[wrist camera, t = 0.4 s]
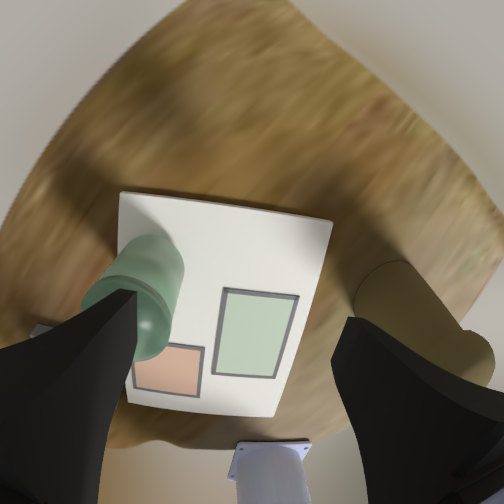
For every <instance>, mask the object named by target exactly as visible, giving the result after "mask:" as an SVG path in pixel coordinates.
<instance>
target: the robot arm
mask: <svg viewBox="0 0 504 504" xmlns="http://www.w3.org/2000/svg"><path fill="white" fill-rule="evenodd" d="M137 342H138V335H137V291H133V290H128V289H122V288H119V289H117V290H116V291H114V292H112V293H111V294H109V295H108V296H106V297H105V298H103V299H102V300H100V301H99V302H97V303H95V304H94V305H92V306H91V307H89V308H88V309H86V310H84V311H83V312H81V313H80V314H78V315H76V316H74V317H72V318H71V319H69V320H67V321H65V322H64V323H62V324H60V325H58V326H57V327H55V328H53V329H51V330H49V331H47V332H44V333H42V334H40V335H38V336H35V337H33V338H31V339H28V340H25V341H23V342H20V343H17V344H14V345H11V346H8V347H5V348H2V349H0V504H97V503H98V492H99V483H100V475H101V467H102V461H103V456H104V450H105V445H106V440H107V435H108V431H109V426H110V423H111V420H112V416H113V414H114V411H115V408H116V405H117V403H118V400H119V397H120V395H121V392H122V389H123V387H124V384H125V382H126V379H127V376H128V374H129V371H130V368H131V366H132V362H133V358H134V354H135V350H136V346H137ZM330 361H331V366H332V371H333V375H334V379H335V383H336V386H337V389H338V392H339V394H340V397H341V399H342V402H343V404H344V407H345V409H346V412H347V414H348V417H349V419H350V422H351V425H352V427H353V430H354V432H355V435H356V438H357V442H358V445H359V450H360V454H361V458H362V463H363V468H364V474H365V479H366V486H367V495H368V504H504V393H503V392H499V391H496V390H492V389H488V388H486V387H483V386H480V385H477V384H475V383H472V382H470V381H467V380H465V379H462V378H460V377H458V376H456V375H454V374H452V373H450V372H448V371H446V370H444V369H442V368H440V367H438V366H437V365H435V364H433V363H432V362H430V361H428V360H427V359H425V358H424V357H422V356H420V355H419V354H417V353H416V352H414V351H413V350H411V349H410V348H408V347H407V346H405V345H404V344H402V343H401V342H400V341H398V340H397V339H395V338H394V337H392V336H391V335H390V334H388V333H387V332H385V331H384V330H382V329H381V328H379V327H378V326H376V325H375V324H373V323H372V322H370V321H368V320H366V319H364V318H360V317H348V318H347V321H346V324H345V326H344V329H343V331H342V334H341V336H340V339H339V341H338V344H337V346H336V349H335V351H334V353H333V356H332V358H331V360H330ZM311 446H312V443H311V442H310V441H299V442H239V443H238V444H237V446H236V450H235V453H234V457H233V460H232V464H231V467H230V471H229V474H228V480H230V481H236V489H237V503H238V504H312V503H311V499H310V495H309V491H308V486H307V482H306V478H305V473H304V469H303V465H302V460H303V459H304V457H305V455H306V454H307V452H308V451H309V449H310V447H311Z"/></svg>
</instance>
